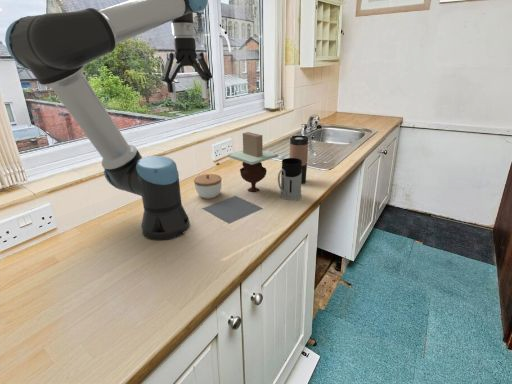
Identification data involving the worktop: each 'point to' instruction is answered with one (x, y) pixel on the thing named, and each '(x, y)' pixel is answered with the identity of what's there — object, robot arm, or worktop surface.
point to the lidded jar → (208, 185)
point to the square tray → (232, 209)
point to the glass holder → (290, 179)
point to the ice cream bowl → (253, 174)
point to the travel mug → (300, 152)
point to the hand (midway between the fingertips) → (190, 100)
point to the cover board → (251, 158)
